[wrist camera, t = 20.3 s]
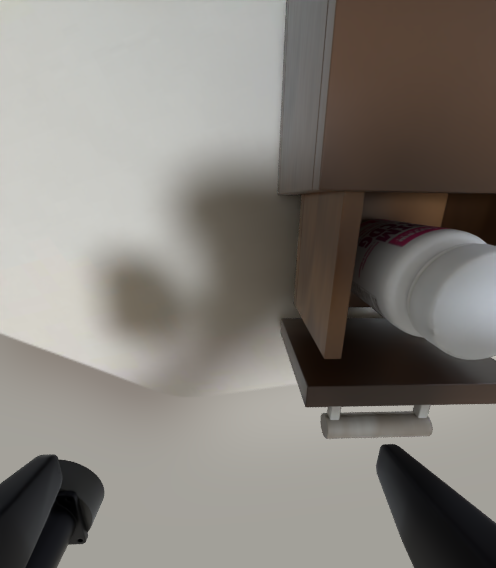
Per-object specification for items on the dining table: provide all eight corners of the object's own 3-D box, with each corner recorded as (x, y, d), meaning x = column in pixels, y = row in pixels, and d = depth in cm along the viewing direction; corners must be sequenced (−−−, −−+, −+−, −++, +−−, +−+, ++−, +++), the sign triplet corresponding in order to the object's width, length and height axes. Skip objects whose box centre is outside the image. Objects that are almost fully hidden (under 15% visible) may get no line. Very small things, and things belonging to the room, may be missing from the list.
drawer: (410, 384, 21) (495, 473, 14) (277, 386, 21) (298, 479, 14) (468, 148, 16) (647, 110, 9) (291, 144, 16) (337, 99, 9)
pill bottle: (372, 201, 16) (515, 203, 8) (421, 251, 17) (592, 299, 9) (316, 261, 17) (391, 319, 9) (366, 305, 18) (474, 393, 10)
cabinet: (454, 197, 18) (662, 196, 9) (277, 194, 17) (318, 189, 9) (522, -79, 14) (1024, -566, 5) (291, -94, 13) (399, -674, 4)
